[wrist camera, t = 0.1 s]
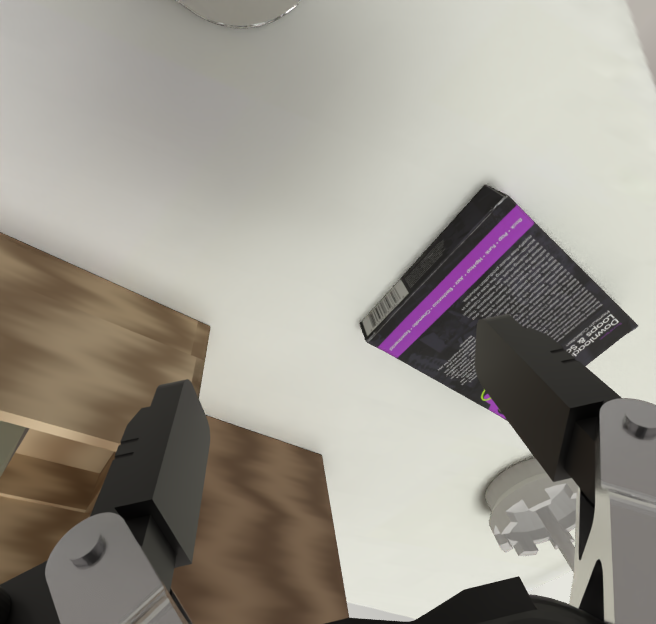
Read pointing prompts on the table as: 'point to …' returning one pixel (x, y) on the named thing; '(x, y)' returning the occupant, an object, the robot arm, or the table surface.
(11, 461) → the wooden open bin
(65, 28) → the table surface
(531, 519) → the flag stand
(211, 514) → the riser
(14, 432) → the box
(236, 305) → the table surface
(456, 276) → the box
